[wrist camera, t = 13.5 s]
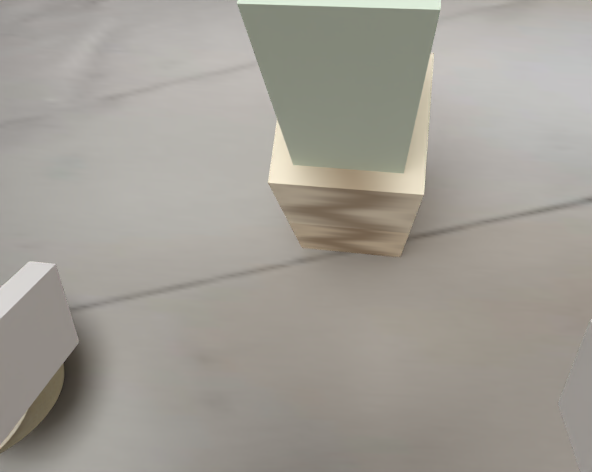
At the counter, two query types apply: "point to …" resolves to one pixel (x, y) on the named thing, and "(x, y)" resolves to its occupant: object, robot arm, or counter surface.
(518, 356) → the counter surface
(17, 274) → the robot arm
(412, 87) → the sage block
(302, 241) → the tower base
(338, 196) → the tower top
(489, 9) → the counter surface
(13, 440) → the flower pot
